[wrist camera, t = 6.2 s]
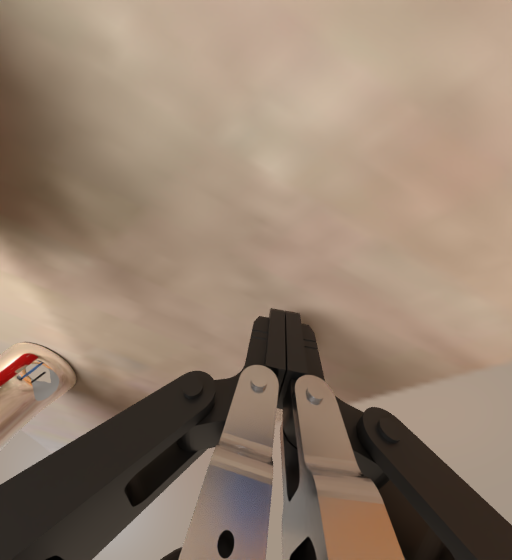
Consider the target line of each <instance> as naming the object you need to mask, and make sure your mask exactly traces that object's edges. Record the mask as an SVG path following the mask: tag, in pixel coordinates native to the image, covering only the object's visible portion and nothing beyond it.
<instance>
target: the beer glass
mask: <svg viewBox="0 0 512 560" xmlns="http://www.w3.org/2000/svg"><path fill="white" fill-rule="evenodd" d="M75 383H76V374H75V372H74V370H73V369H72V367H71V366H70V365H69V364H68V363H67V362H66V361H65V360H64V359H63V358H61V357H60V356H59V355H57V354H56V353H54V352H53V351H51V350H49V349H47V348H45V347H42V346H40V345H37V344H33V343H27V342H22V343H17V344H14V345H12V346H11V347H9V348H8V349H7V350H5V351H4V352H3V353H2V354H0V451H1V450H2V449H3V448H4V446H5V445H6V444H7V443H8V442H9V441H10V440H11V439H12V437H14V436H15V435H16V434H17V433H18V432H19V431H20V430H21V429H22V428H23V427H24V426H25V425H26V424H27V423H28V422H29V421H30V420H31V419H32V418H34V417H35V416H36V415H37V414H38V413H39V412H41V411H42V410H43V409H44V408H46V407H47V406H48V405H50V404H51V403H52V402H54V401H55V400H56V399H58V398H59V397H61V396H62V395H63V394H65V393H66V392H67V391H69V390H70V389H71V388H72V387H73V386H74V385H75Z"/></svg>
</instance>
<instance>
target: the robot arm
mask: <svg viewBox="0 0 512 560" xmlns="http://www.w3.org/2000/svg"><path fill="white" fill-rule="evenodd" d="M317 349H318V348H317V343H316V339H315V334H314V332H313V330H312V329H311V328H310V326H309V325H306V324H301V319H300V314H299V313H295V312H289V311H283V310H278V309H272V308H271V309H270V314H269V318H267V317H262V316H259V317H258V318H257V319H256V320H255V321H254V324H253V329H252V334H251V339H250V343H249V348H248V353H247V358H246V362H245V366H244V368H243V369H242V371H241V372H240V373H239V374H237V375H236V376H234V377H231V378H228V379H221V380H213V378H212V377H211V376H210V375H209V374H207V373H205V372H202V371H192V372H188V373H186V374H184V375H182V376H181V377H179V378H177V379H176V380H174V381H172V382H171V383H169V384H167V385H166V386H164V387H162V388H161V389H159V390H157V391H156V392H154V393H152V394H151V395H149V396H147V397H146V398H144V399H142V400H141V401H139V402H137V403H136V404H134V405H132V406H131V407H129V408H127V409H126V410H124V411H122V412H121V413H119V414H117V415H116V416H114V417H112V418H111V419H109V420H107V421H106V422H104V423H102V424H101V425H99V426H97V427H96V428H94V429H92V430H91V431H89V432H87V433H86V434H84V435H82V436H81V437H79V438H77V439H76V440H74V441H72V442H71V443H69V444H67V445H66V446H64V447H62V448H61V449H59V450H57V451H56V452H54V453H52V454H51V455H49V456H48V457H46V458H44V459H43V460H41V461H39V462H38V463H36V464H34V465H32V466H31V467H29V468H28V469H26V470H24V471H22V472H21V473H19V474H18V475H16V476H14V477H13V478H11V479H9V480H8V481H6V482H4V483H3V484H1V485H0V560H92V559H93V558H94V557H95V556H96V555H97V554H98V553H99V552H100V551H101V550H102V549H103V548H104V547H106V546H107V545H108V544H109V543H110V542H111V541H112V540H113V539H114V538H115V537H116V536H117V535H118V534H119V533H120V532H121V531H122V530H123V529H124V528H125V527H126V526H127V525H128V524H129V523H131V521H133V520H134V519H135V518H136V517H137V516H138V515H139V514H140V513H141V512H142V511H143V510H144V509H145V508H146V507H147V506H148V505H149V504H150V503H151V502H153V501H154V500H155V498H157V497H158V496H159V495H160V494H161V493H162V492H163V491H164V490H165V489H166V488H167V487H168V486H169V485H170V484H171V483H172V482H173V481H174V480H175V479H177V478H178V477H179V476H180V474H182V473H183V472H184V471H185V470H186V469H187V468H188V467H189V466H190V465H191V464H192V463H193V462H194V461H195V460H196V459H197V458H198V457H199V456H201V455H202V454H203V453H204V452H205V451H206V450H207V449H208V448H212V447H215V450H214V452H213V455H212V458H211V461H210V464H209V467H208V470H207V473H206V476H205V479H204V482H203V485H202V488H201V491H200V495H199V498H198V501H197V504H196V507H195V510H194V513H193V516H192V519H191V522H190V526H189V529H188V532H187V535H186V538H185V541H184V544H183V547H181V548H179V549H176V550H174V551H173V552H171V553H170V554H168V555H167V556H165V557H163V558H162V559H161V560H265V559H266V548H267V537H268V526H269V515H270V514H269V513H270V504H271V492H272V480H273V461H272V448H273V439H274V429H275V419H276V409H277V408H279V409H283V421H282V424H281V427H280V440H281V459H282V477H283V496H284V505H283V515H282V554H283V555H282V556H283V560H512V525H511V524H510V523H509V522H508V521H506V520H505V519H504V518H503V517H502V516H501V515H500V514H499V513H498V512H497V511H496V510H495V509H494V508H493V507H492V506H490V505H489V504H488V503H487V502H486V501H485V500H484V499H483V498H482V497H481V496H480V495H479V494H478V493H477V492H475V491H474V490H473V489H472V488H471V487H470V486H469V485H468V484H467V483H466V482H465V481H464V480H463V479H461V477H459V476H458V475H457V474H456V473H455V472H454V471H453V470H452V469H451V468H450V467H449V466H447V464H445V463H444V462H443V461H442V460H441V459H440V458H439V457H438V456H437V455H436V454H435V453H434V452H433V451H432V450H430V449H429V448H428V447H427V446H426V445H425V444H424V443H423V442H422V441H421V440H420V439H419V438H418V437H417V436H416V435H414V434H413V433H412V432H411V431H410V430H409V429H408V428H407V427H406V426H405V425H404V424H403V423H402V422H401V421H399V420H398V419H397V418H396V417H395V416H394V415H392V414H391V413H389V412H388V411H386V410H383V409H381V408H377V407H371V408H368V409H367V410H366V411H365V412H362V411H360V410H358V409H356V408H354V407H352V406H350V405H348V404H346V403H344V402H343V401H341V400H340V399H338V398H337V397H336V396H335V394H334V392H333V390H332V389H331V387H330V386H329V385H328V384H327V383H326V382H325V380H324V376H323V371H322V366H321V362H320V357H319V352H318V350H317Z"/></svg>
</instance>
